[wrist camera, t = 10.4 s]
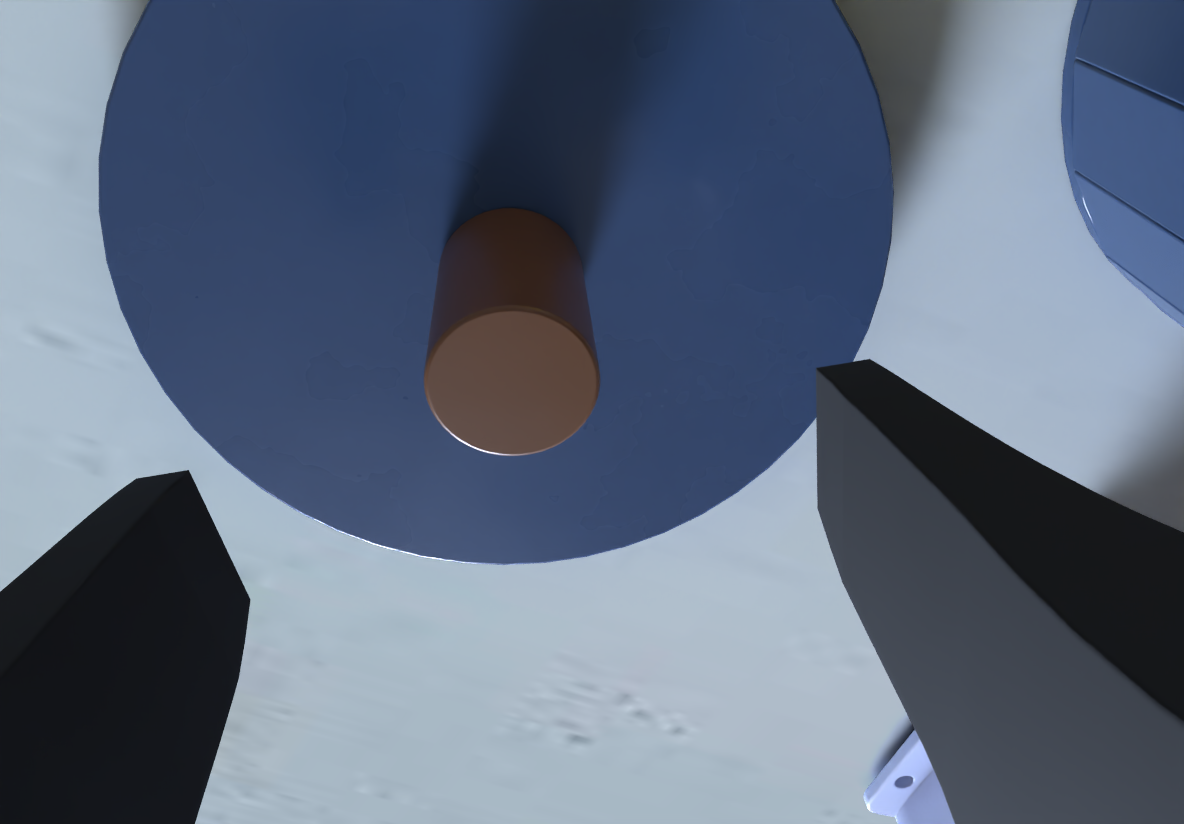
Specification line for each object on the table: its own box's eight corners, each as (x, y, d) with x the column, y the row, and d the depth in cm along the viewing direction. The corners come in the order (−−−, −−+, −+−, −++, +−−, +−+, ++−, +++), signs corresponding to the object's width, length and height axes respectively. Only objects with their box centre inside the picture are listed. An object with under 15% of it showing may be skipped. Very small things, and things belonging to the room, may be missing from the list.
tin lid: (918, 422, 19) (1022, 579, 16) (342, 599, 21) (305, 784, 17) (792, -339, 12) (925, -405, 9) (-60, 6, 14) (-282, 86, 10)
